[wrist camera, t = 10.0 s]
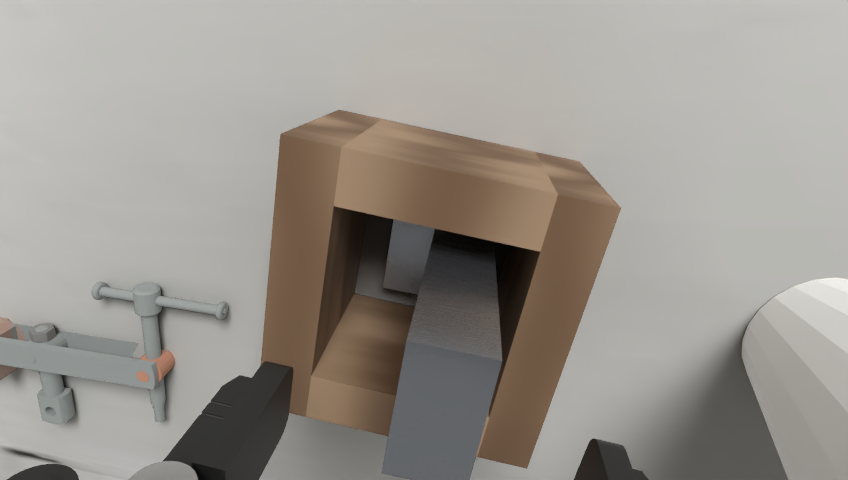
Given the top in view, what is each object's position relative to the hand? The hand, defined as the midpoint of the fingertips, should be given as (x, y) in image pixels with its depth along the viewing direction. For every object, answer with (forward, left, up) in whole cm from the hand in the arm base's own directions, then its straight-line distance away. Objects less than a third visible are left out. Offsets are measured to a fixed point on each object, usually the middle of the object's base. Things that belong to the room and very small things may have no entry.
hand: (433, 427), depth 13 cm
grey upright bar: (+1, 0, -12) cm, 12 cm away
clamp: (+18, +11, -13) cm, 25 cm away
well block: (+1, 0, -12) cm, 12 cm away
